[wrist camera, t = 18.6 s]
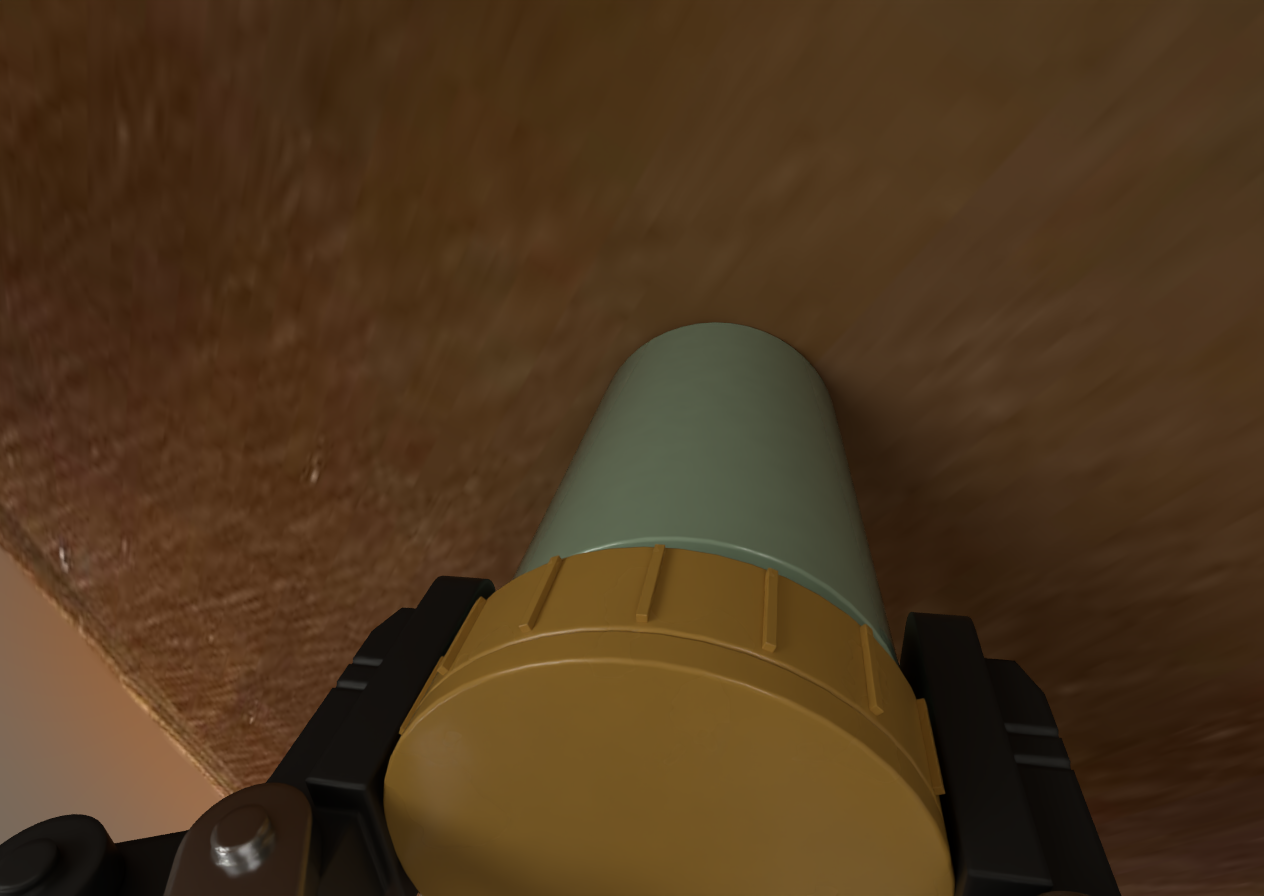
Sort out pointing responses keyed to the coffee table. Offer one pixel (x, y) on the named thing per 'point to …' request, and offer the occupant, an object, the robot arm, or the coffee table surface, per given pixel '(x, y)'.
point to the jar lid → (666, 742)
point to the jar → (720, 468)
